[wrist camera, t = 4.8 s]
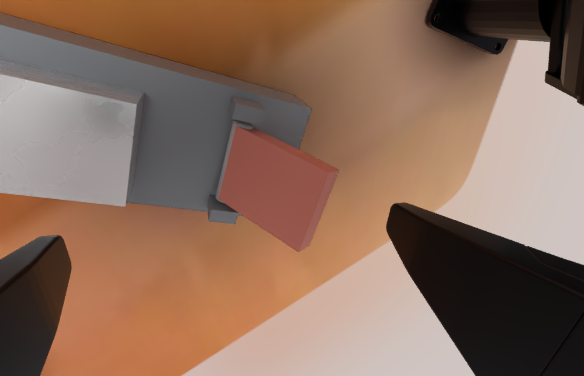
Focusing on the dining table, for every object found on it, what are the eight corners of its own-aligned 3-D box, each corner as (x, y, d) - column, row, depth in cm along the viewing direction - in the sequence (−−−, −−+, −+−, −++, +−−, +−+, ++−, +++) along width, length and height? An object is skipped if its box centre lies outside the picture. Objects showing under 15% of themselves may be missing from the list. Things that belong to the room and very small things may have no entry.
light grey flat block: (144, 91, 14) (137, 104, 12) (133, 182, 16) (125, 206, 14) (-29, 50, 12) (-74, 57, 10) (-20, 161, 14) (-56, 186, 12)
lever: (242, 119, 16) (339, 167, 14) (224, 192, 17) (308, 246, 15) (229, 119, 15) (329, 170, 13) (211, 196, 17) (298, 254, 14)
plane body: (293, 94, 20) (325, 119, 15) (264, 192, 22) (283, 239, 18) (-75, -9, 13) (-218, -23, 9) (-55, 145, 16) (-156, 198, 11)
